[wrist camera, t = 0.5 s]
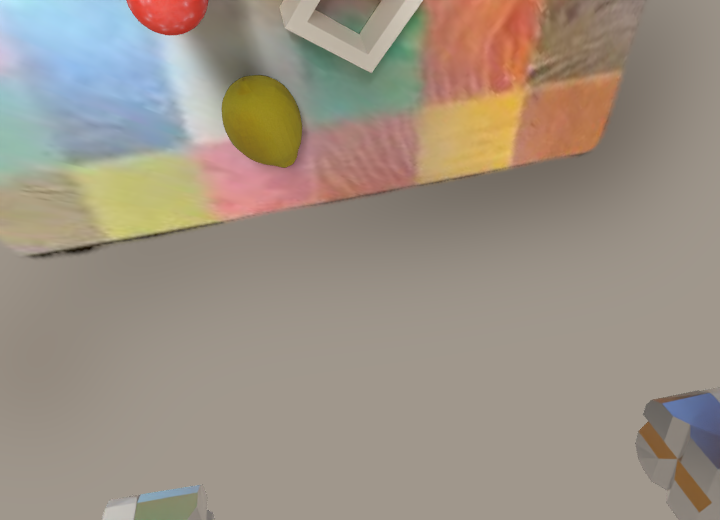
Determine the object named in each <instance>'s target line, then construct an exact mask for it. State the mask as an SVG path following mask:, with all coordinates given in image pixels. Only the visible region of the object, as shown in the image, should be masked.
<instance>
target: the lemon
mask: <svg viewBox="0 0 720 520" xmlns="http://www.w3.org/2000/svg"><path fill="white" fill-rule="evenodd" d="M222 119H223V124H224V127H225V130H226V133H227V135H228V137H229V139H230V141H231V142H232V144H233V145H234V146H235V147H236V148H237V149H238V150H239V151H241V152H242V153H243V154H244V155H246V156H247V157H249V158H250V159H252V160H254V161H256V162H259V163H262V164H266V165H274V166H278V167H283V168H286V167H288V166H290V165H292V164H293V163H294V162H295V160H296V158H297V153H298V149H299V146H300V144H301V136H302V122H301V116H300V112H299V109H298V106H297V104H296V101H295V100H294V98H293V96H292V95H291V94H290V92H289V91H288V89H287V88H286V87H285V86H284V85H283V84H281V83H280V82H278V81H277V80H275V79H273V78H270V77H268V76H263V75H252V76H246V77H242V78H240V79H238V80H237V81H235V82H234V83H233V84H232V85H231V86H230V87H229V89H228V90H227V92H226V94H225V96H224V98H223V102H222Z"/></svg>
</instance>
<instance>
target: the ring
mask: <svg viewBox="0 0 720 520" xmlns="http://www.w3.org/2000/svg"><path fill="white" fill-rule="evenodd" d="M422 1H423V0H381V2H380V3H379V5H378V6H377V8H376V9H375V11H374V13H373V14H372V16H371V17H370V19H369V20H368V22H367V23H366V25H365V26H364V28H363V29H362V31H361V32H360V34H358V33H356V32H354V31H353V30H351V29H349V28H347V27H345V26H344V25H342V24H340V23H338V22H336V21H335V20H333V19H331V18H329V17H327V16H326V15H324V14H322V13H320V12H318V11H317V10H315V8H316V7H317V5H318V3H319V2H320V0H283V2H282V3H281V5H280V7H279V9H280V12H281V16H282V20H283V23H284V27H285V29H287V30H289V31H291V32H293V33H295V34H297V35H299V36H300V37H302V38H304V39H306V40H308V41H310V42H312V43H314V44H316V45H318V46H320V47H322V48H324V49H326V50H328V51H330V52H331V53H333V54H335V55H337V56H339V57H341V58H343V59H345V60H347V61H349V62H351V63H353V64H355V65H357V66H359V67H361V68H362V69H364V70H366V71H368V72H370V73H372V72H373V70H374V69H375V67H376V66H377V65H378V63H379V62H380V60H381V59H382V58H383V56H384V55H385V53H386V52H387V51H388V49H389V48H390V46H391V45H392V43H393V42H394V41H395V39H396V38H397V36H398V35H399V34H400V32H401V31H402V29H403V28H404V27H405V25H406V24H407V22H408V21H409V20H410V18H411V17H412V15H413V14H414V12H415V11H416V10H417V8H418V7H419V5H420V4H421V3H422Z"/></svg>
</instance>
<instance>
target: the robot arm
mask: <svg viewBox="0 0 720 520" xmlns="http://www.w3.org/2000/svg"><path fill="white" fill-rule="evenodd" d="M643 415H644V416H645V417H646V419H647V420H648V422H647V423H646V424H645V425H644V426H643V427H642V428H641V429H640V430H639V431H638V435H637V439H636V443H635V444H636V449H637V455H638V459H639V461H640V463H641V465H642V468H643V470H644V471H645V473H646V474H647V475H648V477H649V478H650V480H651V481H652V482H653V483H655V484H657V485H659V486H661V487H662V488H664V489H666V490H667V498H666V500H667V501H666V502H667V504H668V506H669V507H670V508H671V510H672V511H673V513H674V514H675V515H676V517H677V518H678V519H679V520H720V387H718V388H713V389H707V390H702V391H693V392H688V393H683V394H678V395H673V396H668V397H663V398H658V399H653V400H651V401H650V402H649V403H648V404H646V407H645V410H644V413H643ZM102 520H215V518H214V515H213V513H212V512H210V511H209V510H207V494H206V491H205V489H204V486H203V485H197V486H191V487H185V488H179V489H173V490H166V491H160V492H154V493H147V494H142V495H135V496H129V497H124V498H119V499H113V500H109V502H108V504H107V506H106V508H105V510H104V513H103V517H102Z"/></svg>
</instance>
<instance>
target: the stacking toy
mask: <svg viewBox="0 0 720 520" xmlns="http://www.w3.org/2000/svg"><path fill="white" fill-rule="evenodd" d="M126 1H127V3H128V6H129V8H130V10H131V11H132V13H133V14H134V16H135V17H136V18H137V19H138V21H139V22H141V23H142V24H143V25H144V26H146V27H147V28H149V29H150V30H152V31H154V32H157V33H160V34H164V35H179V34H183V33H186V32H188V31H190V30H192V29H193V28H195V27H196V26H197V25H198V24H199V23H200V21H201V20H202V19H203V17H204V15H205V12H206V10H207V6H208V0H126Z"/></svg>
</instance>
